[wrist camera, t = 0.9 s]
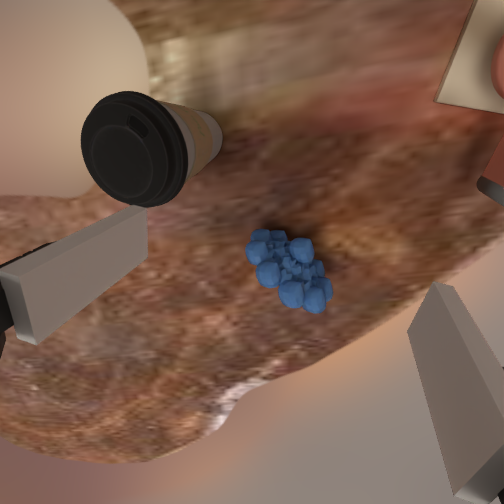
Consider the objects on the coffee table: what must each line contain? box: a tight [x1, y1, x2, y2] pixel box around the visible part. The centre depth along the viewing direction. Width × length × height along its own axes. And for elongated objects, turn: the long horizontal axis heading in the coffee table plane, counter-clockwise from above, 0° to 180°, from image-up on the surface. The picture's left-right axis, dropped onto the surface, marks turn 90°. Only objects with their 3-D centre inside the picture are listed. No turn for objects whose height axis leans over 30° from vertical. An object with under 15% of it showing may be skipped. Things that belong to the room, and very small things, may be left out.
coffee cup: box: [81, 91, 223, 208], centre depth 31 cm, size 9×9×15 cm
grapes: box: [245, 229, 333, 313], centre depth 34 cm, size 12×7×12 cm, turn 61°
